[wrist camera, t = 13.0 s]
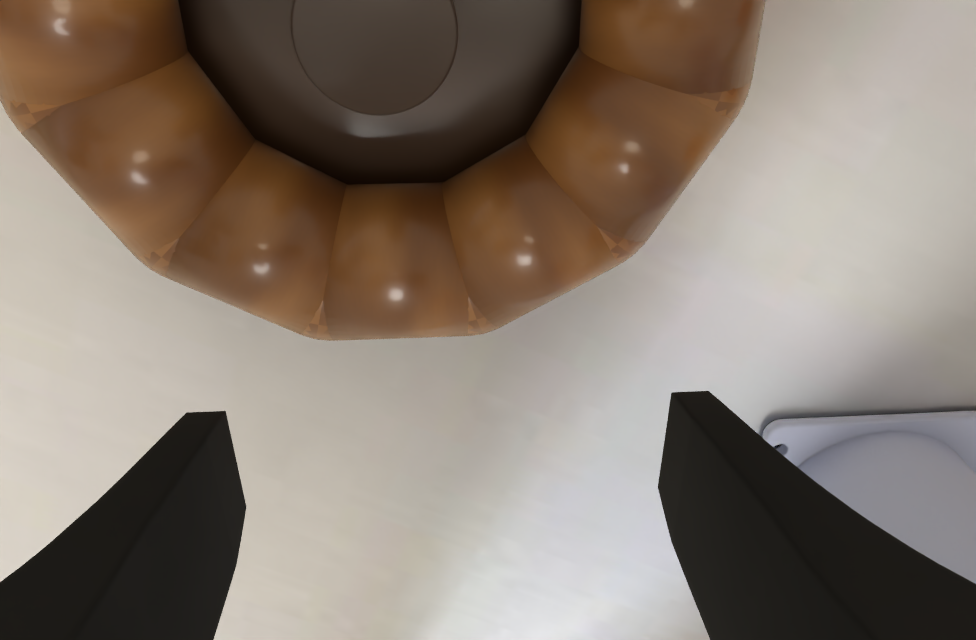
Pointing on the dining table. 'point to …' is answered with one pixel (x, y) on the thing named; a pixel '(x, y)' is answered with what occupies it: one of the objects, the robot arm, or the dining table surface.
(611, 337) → the dining table surface
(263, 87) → the stand
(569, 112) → the ring
